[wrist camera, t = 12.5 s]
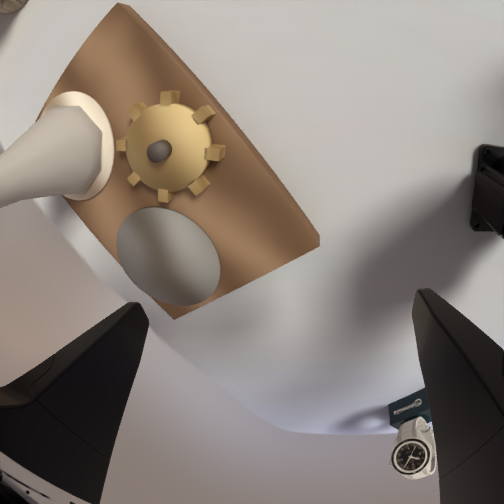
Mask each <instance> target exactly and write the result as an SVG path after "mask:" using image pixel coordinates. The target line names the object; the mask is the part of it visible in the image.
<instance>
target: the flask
mask: <svg viewBox="0 0 504 504" xmlns="http://www.w3.org/2000/svg"><path fill="white" fill-rule="evenodd" d="M101 134H102V131H101V130H100V129H99V127H98V126H97V125H96V124H95V123H94V122H93V121H92V119H91V118H90V117H89V116H88V115H87V114H86V113H85V111H84V110H83V109H82V108H81V107H80V106H60V105H55V106H54V107H53V108H51V109H50V110H49V111H48V112H46V113H45V114H44V115H43V116H42V117H41V118H40V119H39V120H38V121H36V122H35V123H34V124H33V125H32V126H31V127H30V128H29V129H28V130H27V131H26V132H25V133H24V134H23V135H21V136H20V137H19V138H18V139H17V140H16V141H15V142H14V143H13V144H12V145H11V146H10V147H9V148H8V149H7V150H6V151H5V152H4V153H3V154H1V155H0V208H2V207H4V206H7V205H9V204H12V203H15V202H17V201H20V200H25V199H32V198H39V197H47V196H56V195H70V194H81V193H85V192H86V191H87V189H88V188H89V186H90V184H91V183H92V181H93V180H94V178H95V177H96V175H97V174H98V172H99V171H100V169H101Z"/></svg>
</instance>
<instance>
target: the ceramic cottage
mask: <svg viewBox="0 0 504 504" xmlns="http://www.w3.org/2000/svg"><path fill="white" fill-rule="evenodd" d="M27 1H28V0H0V13H3V14H4V13H14V12H16V11H17V10H19V9H20V8H22V7H23V6H24V4H25V3H26V2H27Z"/></svg>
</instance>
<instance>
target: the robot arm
mask: <svg viewBox="0 0 504 504" xmlns="http://www.w3.org/2000/svg"><path fill="white" fill-rule="evenodd" d="M486 149H487V153H486V154H485V150H486ZM472 207H473V209H472V214H471V220H470V227H471V228H472V229H473V230H474V231H495V232H496V233H497V234H498V235H500V236H501V237H502V238H503V239H504V147H501V146H495V145H489V144H482V145H481V146H480V149H479V160H478V171H477V174H476V181H475V189H474V196H473V203H472ZM476 222H478V223H477V225H476V226H475V223H476ZM412 319H413V324H414V330H415V336H416V343H417V350H418V356H419V362H420V366H421V371H422V375H423V379H424V384H425V388H426V393H427V398H428V403H429V408H430V413H431V419H432V425H433V431H434V438H435V445H436V453H437V461H438V472H439V487H440V504H504V350H503V349H502V348H501V347H500V346H499V345H498V344H497V343H495V342H494V341H493V340H492V339H491V338H490V337H489V336H487V335H486V334H485V333H484V332H483V331H482V330H481V329H479V328H478V327H477V326H476V325H475V324H473V323H472V322H471V321H470V320H469V319H468V318H466V317H465V316H464V315H463V314H461V313H460V312H459V311H458V310H457V309H455V308H454V307H453V306H452V305H450V304H449V303H448V302H447V301H445V300H444V299H443V298H442V297H440V296H439V295H438V294H437V293H435V292H434V291H433V290H431V289H430V288H424V289H418V290H417V291H416V294H415V299H414V304H413V309H412ZM148 327H149V320H148V318H147V316H146V314H145V312H144V310H143V308H142V306H141V304H140V303H138V302H129V303H127V304H125V305H124V306H122V307H121V308H120V309H118V310H116V311H115V312H114V313H112V314H111V315H109V316H108V317H106V318H105V319H103V320H102V321H100V322H99V323H98V324H96V325H95V326H94V327H92V328H90V329H89V330H87V331H86V332H85V333H83V334H82V335H80V336H79V337H77V338H76V339H75V340H73V341H72V342H70V343H69V344H68V345H66V346H65V347H63V348H62V349H60V350H59V351H58V352H56V354H53V355H52V356H51V357H49V358H48V359H46V360H45V361H43V362H42V363H41V364H39V365H38V366H36V367H35V368H33V369H31V370H30V371H28V372H27V373H25V374H24V375H22V376H20V377H19V378H17V379H16V380H14V381H12V382H11V383H9V384H7V385H6V386H3V387H0V504H75V503H73V502H71V498H72V496H73V495H74V496H76V497H78V498H80V499H82V500H84V501H87V502H89V503H91V504H100V500H101V496H102V491H103V487H104V482H105V479H106V475H107V471H108V467H109V463H110V459H111V455H112V451H113V447H114V444H115V440H116V437H117V433H118V430H119V426H120V423H121V420H122V416H123V413H124V410H125V406H126V403H127V400H128V397H129V394H130V391H131V388H132V385H133V381H134V379H135V375H136V373H137V369H138V367H139V363H140V360H141V356H142V352H143V348H144V343H145V339H146V335H147V331H148Z"/></svg>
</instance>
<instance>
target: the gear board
mask: <svg viewBox="0 0 504 504" xmlns="http://www.w3.org/2000/svg"><path fill="white" fill-rule="evenodd" d="M55 105H60V106H80V107H81V108H82V109H83V110H84V111H85V113H86V114H87V115H88V116H89V117H90V118H91V119H92V121H93V122H94V123H95V124H96V125H97V126H98V127H99V129H100V130H101V131H102V134H101V169H100V171H99V172H98V174H97V175H96V177H95V178H94V180H93V181H92V183H91V184H90V186H89V188H88V189H87V191H86V192H85V193H81V194H70V195H62V196H63V197H64V198H65V200H66V201H67V202H68V204H69V205H70V206H71V207H72V209H73V210H74V211H75V212H76V214H77V215H78V216H79V217H80V219H81V220H82V221H83V222H84V223H85V225H86V226H87V227H88V228H89V230H90V231H91V232H92V233H93V234H94V235H95V237H96V238H97V239H98V240H99V241H100V242H101V244H102V245H103V246H104V247H105V248H106V249H107V250H108V252H109V253H110V254H111V255H112V256H113V257H114V258H115V259H116V261H117V262H118V263H119V264H120V265H121V266H122V267H123V269H124V270H125V272H126V274H127V275H128V276H129V278H130V279H131V280H132V281H133V283H134V284H135V285H136V286H137V287H139V288H140V289H141V290H142V291H143V292H145V293H146V294H148V295H149V296H151V297H152V298H153V299H154V301H155V302H156V303H158V304H159V305H160V306H161V307H162V308H163V309H164V310H165V311H166V312H167V313H168V314H169V315H170V316H171V317H172V318H173V319H174V320H175V319H177V318H179V317H181V316H183V315H185V314H187V313H189V312H191V311H193V310H195V309H197V308H199V307H201V306H203V305H205V304H207V303H209V302H211V301H213V300H215V299H217V298H219V297H221V296H223V295H225V294H227V293H229V292H231V291H233V290H235V289H237V288H239V287H241V286H243V285H245V284H247V283H249V282H251V281H253V280H255V279H257V278H259V277H261V276H263V275H265V274H267V273H269V272H271V271H273V270H275V269H277V268H279V267H281V266H283V265H284V264H286V263H288V262H290V261H292V260H294V259H296V258H298V257H300V256H302V255H304V254H306V253H307V252H309V251H311V250H313V249H315V248H317V247H319V246H320V236H319V234H318V232H317V231H316V229H315V228H314V227H313V225H312V224H311V222H310V221H309V219H308V218H307V217H306V215H305V214H304V212H303V211H302V210H301V208H300V207H299V205H298V204H297V203H296V201H295V200H294V198H293V197H292V196H291V194H290V193H289V192H288V190H287V189H286V187H285V186H284V185H283V183H282V182H281V181H280V179H279V178H278V177H277V175H276V174H275V173H274V171H273V170H272V169H271V167H270V166H269V165H268V163H267V162H266V161H265V160H264V158H263V157H262V156H261V154H260V153H259V152H258V150H257V149H256V148H255V147H254V145H253V144H252V143H251V142H250V140H249V139H248V138H247V137H246V135H245V134H244V133H243V131H242V130H241V129H240V128H239V127H238V125H237V124H236V123H235V122H234V120H233V119H232V118H231V117H230V115H229V114H228V113H227V112H226V111H225V109H224V108H223V107H222V106H221V105H220V103H219V102H218V101H217V100H216V99H215V97H214V96H213V95H212V94H211V93H210V92H209V90H208V89H207V88H206V87H205V86H204V85H203V83H202V82H201V81H200V80H199V79H198V78H197V77H196V75H195V74H194V73H193V72H192V71H191V70H190V69H189V68H188V66H187V65H186V64H185V63H184V62H183V61H182V60H181V59H180V58H179V57H178V55H177V54H176V53H175V52H174V51H173V50H172V49H171V48H170V47H169V46H168V45H167V44H166V43H165V41H164V40H163V39H162V38H161V37H160V36H159V35H158V34H157V33H156V32H155V31H154V30H153V29H152V28H151V27H150V26H149V25H148V24H147V23H146V22H145V21H144V20H143V19H142V18H141V17H140V16H139V15H138V14H137V13H136V12H135V11H134V10H133V9H132V8H131V7H130V6H129V5H125V4H121V3H117V4H116V5H115V6H114V7H113V8H112V9H111V10H110V11H109V13H108V14H107V15H106V16H105V17H104V18H103V19H102V21H101V22H100V23H99V24H98V26H97V27H96V28H95V29H94V30H93V32H92V33H91V34H90V36H89V37H88V38H87V39H86V41H85V42H84V43H83V45H82V46H81V48H80V49H79V50H78V52H77V53H76V54H75V56H74V57H73V59H72V60H71V62H70V63H69V65H68V66H67V68H66V69H65V71H64V72H63V74H62V75H61V77H60V79H59V80H58V82H57V84H56V85H55V87H54V89H53V90H52V92H51V94H50V95H49V97H48V99H47V101H46V103H45V104H44V106H43V108H42V110H41V112H40V114H39V116H38V118H37V120H36V121H38V120H39V119H40V118H41V117H42V116H43V115H44V114H45V113H46V112H48V111H49V110H50V109H51V108H53V107H54V106H55Z"/></svg>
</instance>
